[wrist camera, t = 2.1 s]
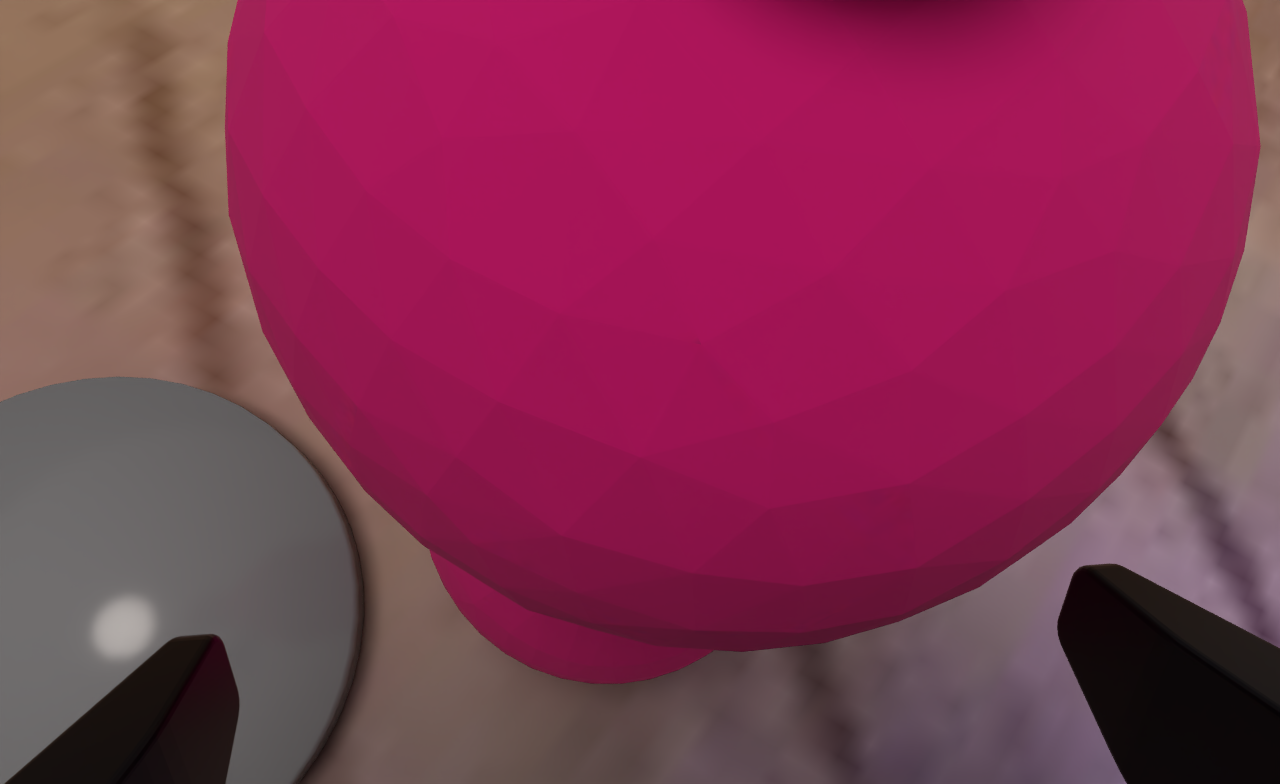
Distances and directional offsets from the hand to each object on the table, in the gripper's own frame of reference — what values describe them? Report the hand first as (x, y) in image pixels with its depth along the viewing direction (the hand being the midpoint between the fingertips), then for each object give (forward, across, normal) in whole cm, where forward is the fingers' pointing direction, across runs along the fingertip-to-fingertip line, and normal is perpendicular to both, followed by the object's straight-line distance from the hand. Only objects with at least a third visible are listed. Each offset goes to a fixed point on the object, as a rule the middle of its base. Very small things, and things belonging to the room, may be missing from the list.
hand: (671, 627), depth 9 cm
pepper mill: (+10, 0, +6) cm, 12 cm away
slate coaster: (+9, +11, +8) cm, 16 cm away
